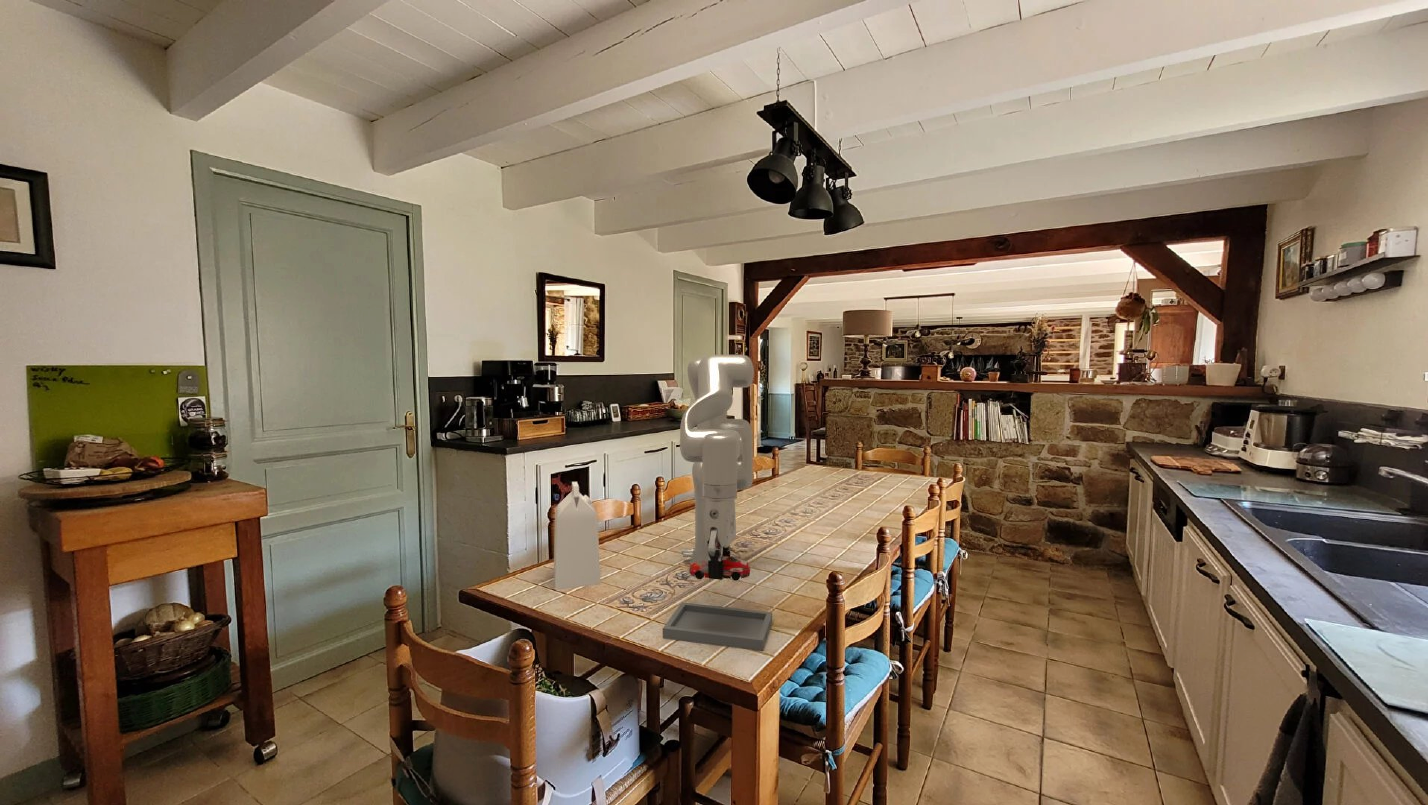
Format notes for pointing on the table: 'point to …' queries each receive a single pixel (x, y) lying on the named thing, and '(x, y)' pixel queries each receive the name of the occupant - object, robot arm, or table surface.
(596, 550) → the milk
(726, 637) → the tray
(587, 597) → the table surface
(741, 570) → the race car
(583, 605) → the table surface
